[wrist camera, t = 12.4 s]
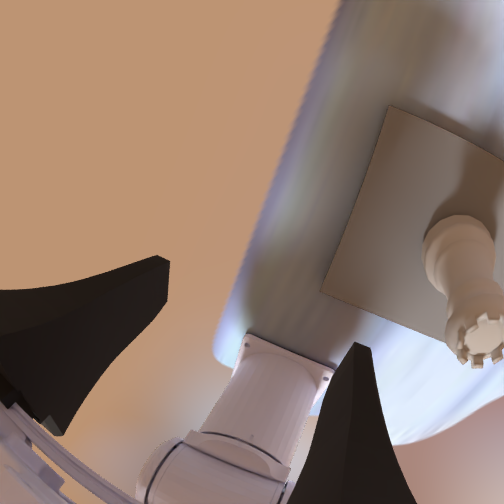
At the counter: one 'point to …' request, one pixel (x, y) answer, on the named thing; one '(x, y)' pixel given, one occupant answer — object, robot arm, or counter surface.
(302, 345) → the counter surface
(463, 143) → the mat
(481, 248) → the rook chess piece
